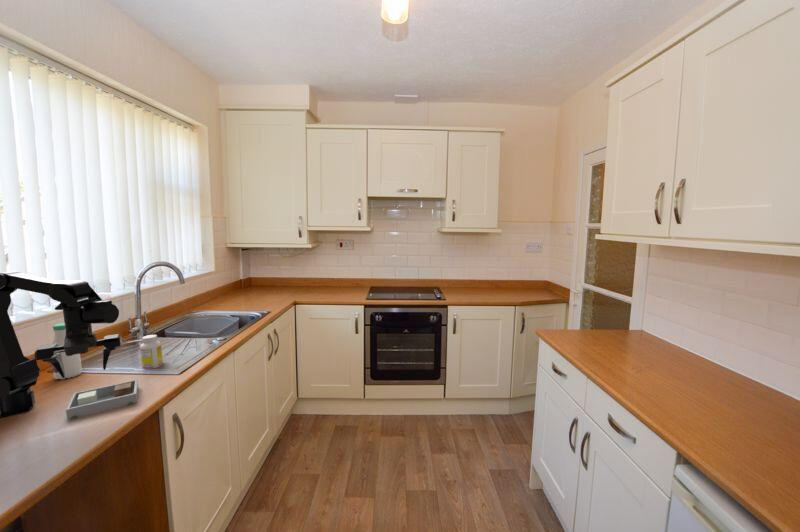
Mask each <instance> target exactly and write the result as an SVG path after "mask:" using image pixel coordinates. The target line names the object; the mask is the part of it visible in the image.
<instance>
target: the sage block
mask: <svg viewBox="0 0 800 532" xmlns="http://www.w3.org/2000/svg"><path fill="white" fill-rule="evenodd" d="M77 401H78V406H81V405H85V404H90V403H94V402H98V399H97V391H96V390H95V391H91V392H86V393H82V394H79V396H78V399H77Z"/></svg>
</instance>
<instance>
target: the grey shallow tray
mask: <svg viewBox="0 0 800 532" xmlns="http://www.w3.org/2000/svg"><path fill="white" fill-rule="evenodd" d="M130 382H131V387H132V394H129V395H124V396H120V397H116V398H115V393H114V389H115V386H116V385H121V384H125V383H130ZM95 390H96V391H97V399H98V402H94V403H90V404H85V405H81V406H78V401H77V399H78V396H79V394H82V393H86V392H91V391H95ZM138 395H139V382H138V379H134V380H133V379H132V380H129V381H123V382H119V383H115V384H111V385H106V386H100V387H96V388H90V389H87V390H83V391H77V392H73V393H72V396H71V399H69V403H68V404H67V407H66V409H65V413H66V418H67V419H66V420H70V421H71V420H76V419H78V418H80V417H84V416H87V415H92V414H96V413H99V412H100V413H101V412H104V411H109V410H112V409H113V410H114V409H117V408H122V407H124V406H127V407H129V406H132V405H135V404H137V403H138Z"/></svg>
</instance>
